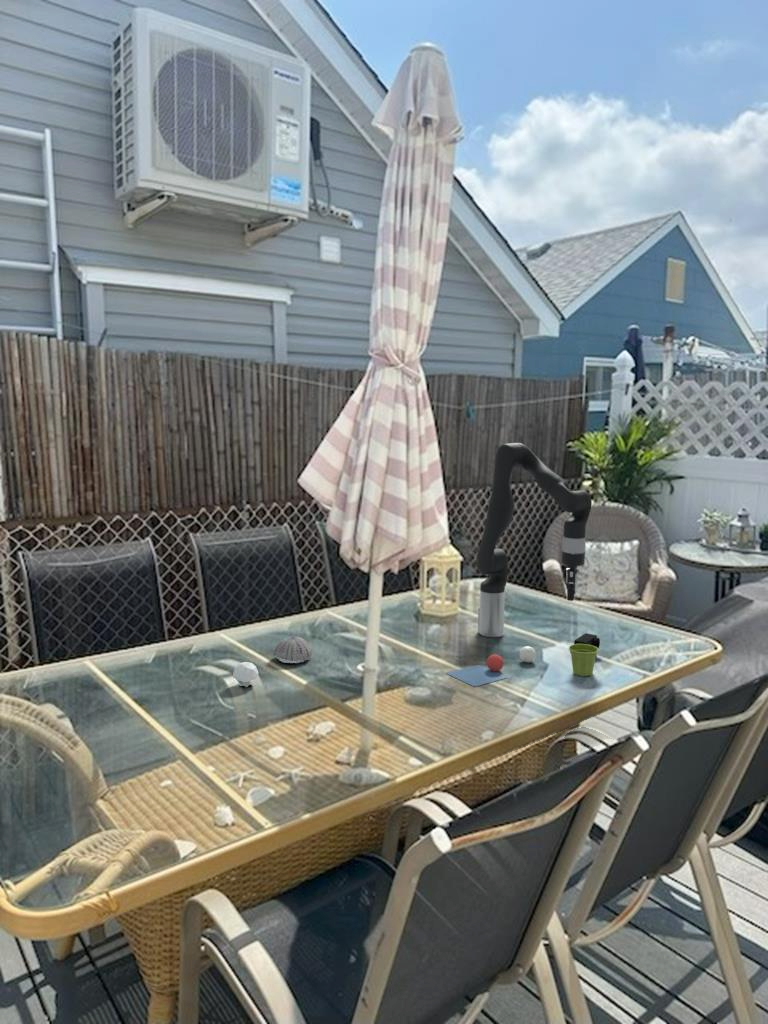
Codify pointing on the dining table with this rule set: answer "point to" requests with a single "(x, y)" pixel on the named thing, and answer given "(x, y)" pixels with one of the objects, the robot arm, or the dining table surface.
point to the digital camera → (588, 640)
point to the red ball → (495, 662)
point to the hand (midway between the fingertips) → (571, 597)
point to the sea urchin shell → (293, 649)
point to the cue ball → (527, 654)
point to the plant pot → (583, 658)
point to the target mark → (476, 675)
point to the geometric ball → (245, 672)
